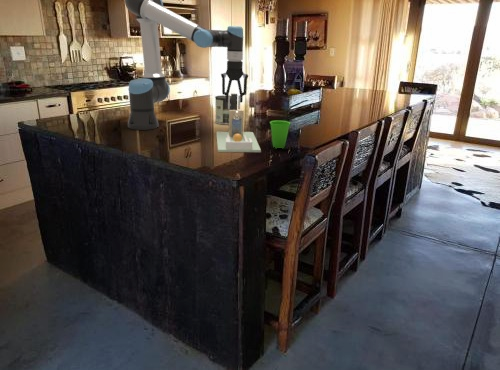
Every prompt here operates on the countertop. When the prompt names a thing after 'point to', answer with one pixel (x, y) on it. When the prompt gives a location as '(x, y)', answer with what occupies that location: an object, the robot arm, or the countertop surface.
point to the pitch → (229, 145)
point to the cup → (279, 133)
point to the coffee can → (222, 110)
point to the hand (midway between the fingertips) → (233, 108)
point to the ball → (237, 137)
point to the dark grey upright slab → (235, 122)
